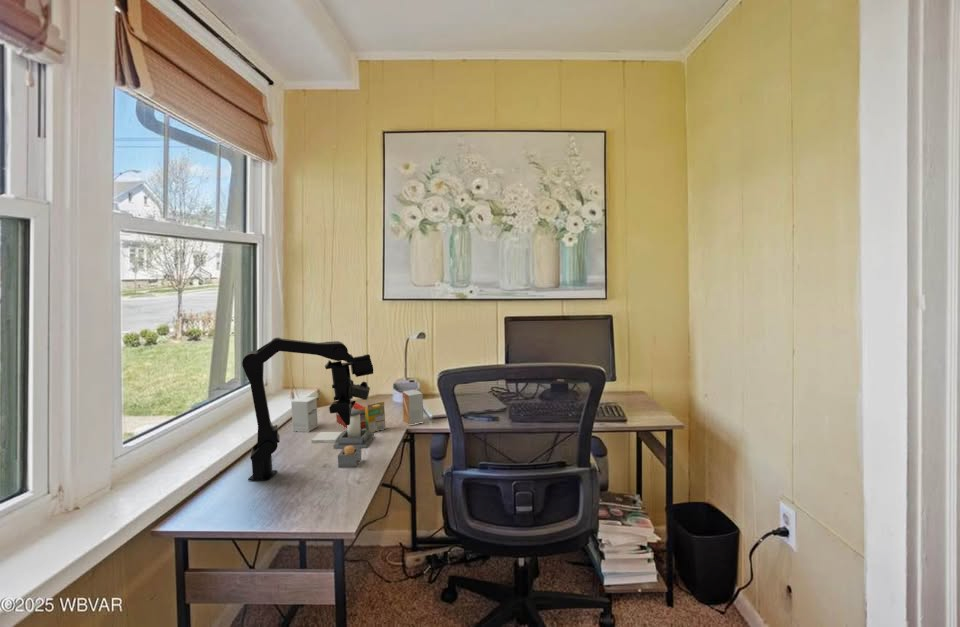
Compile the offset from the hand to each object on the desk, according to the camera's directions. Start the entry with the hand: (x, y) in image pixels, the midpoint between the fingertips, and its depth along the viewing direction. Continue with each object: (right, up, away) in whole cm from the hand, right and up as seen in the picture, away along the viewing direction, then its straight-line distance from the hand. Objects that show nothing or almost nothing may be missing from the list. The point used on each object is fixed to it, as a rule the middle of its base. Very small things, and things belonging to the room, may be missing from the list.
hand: (348, 424), depth 158 cm
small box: (+16, -9, +42) cm, 46 cm away
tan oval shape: (+1, -12, -1) cm, 12 cm away
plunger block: (+1, -13, -1) cm, 13 cm away
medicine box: (-10, -10, +41) cm, 43 cm away
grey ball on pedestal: (-3, -11, +19) cm, 23 cm away
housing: (-3, -11, +19) cm, 23 cm away
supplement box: (-28, -11, +37) cm, 47 cm away
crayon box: (+2, -10, +32) cm, 34 cm away
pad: (-15, -11, +24) cm, 31 cm away
